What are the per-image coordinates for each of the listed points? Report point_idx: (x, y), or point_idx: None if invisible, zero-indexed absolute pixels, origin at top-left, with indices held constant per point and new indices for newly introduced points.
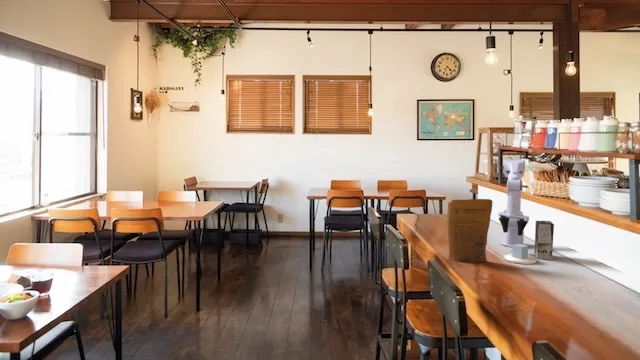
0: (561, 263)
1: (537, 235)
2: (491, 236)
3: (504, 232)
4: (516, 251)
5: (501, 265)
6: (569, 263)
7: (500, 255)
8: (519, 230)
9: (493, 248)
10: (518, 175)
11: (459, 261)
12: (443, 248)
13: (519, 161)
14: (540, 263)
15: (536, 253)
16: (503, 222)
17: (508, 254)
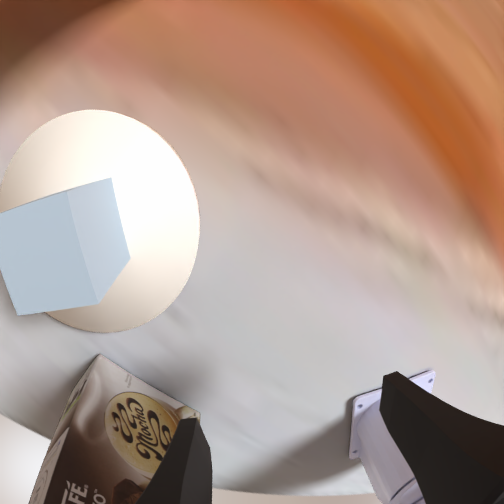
0: (17, 379)
1: (74, 483)
2: (498, 398)
3: (386, 376)
4: (53, 194)
5: (53, 16)
6: (20, 404)
7: (251, 180)
8: (161, 467)
9: (410, 279)
10: None
11: None
12: (493, 11)
13: None
14: None
15: (113, 382)
16: (461, 453)
17: (185, 208)
